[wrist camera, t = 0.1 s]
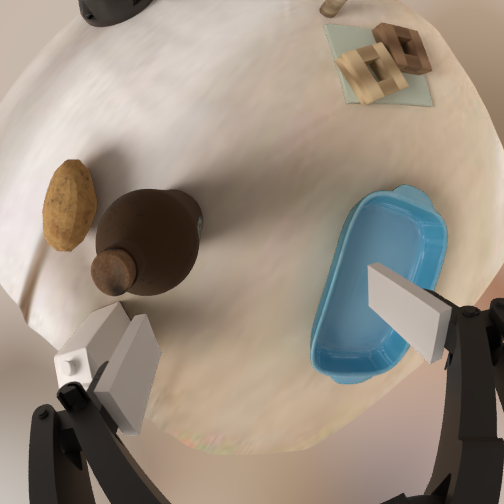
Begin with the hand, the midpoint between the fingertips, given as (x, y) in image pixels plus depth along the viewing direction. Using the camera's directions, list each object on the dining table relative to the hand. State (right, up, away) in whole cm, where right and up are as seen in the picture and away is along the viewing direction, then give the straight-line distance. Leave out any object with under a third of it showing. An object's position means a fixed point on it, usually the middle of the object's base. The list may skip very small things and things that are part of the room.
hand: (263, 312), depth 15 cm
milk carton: (-25, -9, +29) cm, 40 cm away
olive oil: (-13, +8, +26) cm, 30 cm away
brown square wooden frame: (+27, +41, +20) cm, 53 cm away
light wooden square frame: (+19, +33, +21) cm, 44 cm away
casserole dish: (+21, -2, +33) cm, 39 cm away
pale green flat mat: (+23, +37, +22) cm, 49 cm away
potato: (-29, +12, +23) cm, 39 cm away
